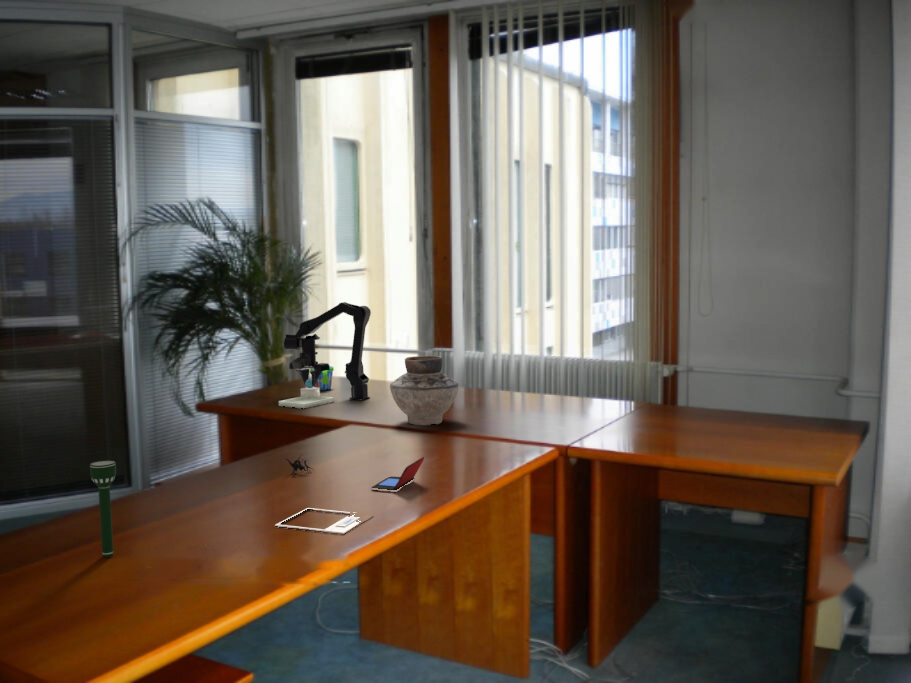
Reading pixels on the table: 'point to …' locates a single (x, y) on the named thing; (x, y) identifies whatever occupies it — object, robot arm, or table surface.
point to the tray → (306, 401)
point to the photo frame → (338, 527)
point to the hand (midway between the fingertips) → (309, 386)
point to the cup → (310, 391)
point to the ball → (308, 383)
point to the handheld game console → (398, 482)
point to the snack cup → (324, 379)
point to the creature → (298, 465)
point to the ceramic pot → (424, 390)
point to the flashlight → (104, 500)
